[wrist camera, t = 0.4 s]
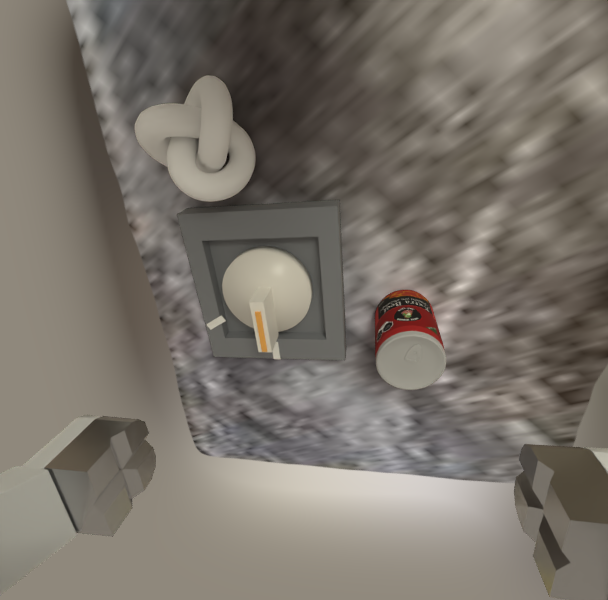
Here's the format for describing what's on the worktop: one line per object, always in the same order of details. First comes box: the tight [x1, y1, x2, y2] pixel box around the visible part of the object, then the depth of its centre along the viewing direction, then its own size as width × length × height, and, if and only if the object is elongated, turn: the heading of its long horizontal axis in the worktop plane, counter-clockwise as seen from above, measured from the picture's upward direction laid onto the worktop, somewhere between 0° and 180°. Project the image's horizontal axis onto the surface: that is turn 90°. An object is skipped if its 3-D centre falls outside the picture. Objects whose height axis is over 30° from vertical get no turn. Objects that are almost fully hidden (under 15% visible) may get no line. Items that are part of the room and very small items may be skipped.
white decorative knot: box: [135, 75, 255, 202], centre depth 39 cm, size 11×12×9 cm
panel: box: [177, 200, 346, 360], centre depth 49 cm, size 22×20×3 cm
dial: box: [222, 246, 313, 352], centre depth 47 cm, size 12×12×6 cm
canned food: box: [375, 290, 446, 390], centre depth 45 cm, size 8×8×11 cm
